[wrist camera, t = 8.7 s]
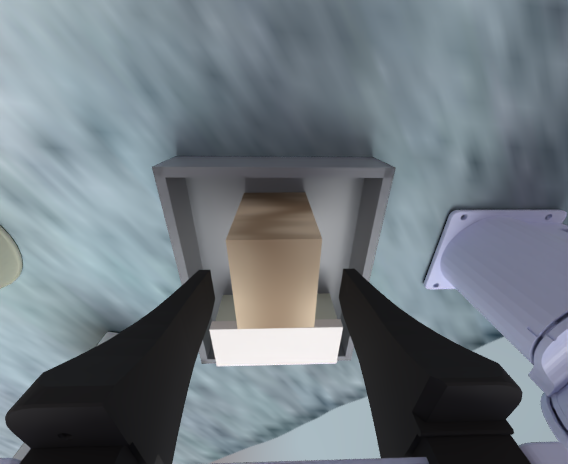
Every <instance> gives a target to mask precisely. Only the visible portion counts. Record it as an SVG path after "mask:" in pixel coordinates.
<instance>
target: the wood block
mask: <svg viewBox="0 0 568 464" xmlns="http://www.w3.org/2000/svg"><path fill="white" fill-rule="evenodd" d="M321 246H322V237H321V234H320V231H319V229H318V226H317V223H316V220H315V218H314V215H313V212H312V209H311V207H310V204H309V201H308V198H307V195H306V193H305V192H282V193H244V195H243V197H242V200H241V202H240V205H239V207H238V210H237V212H236V215H235V218H234V220H233V223H232V225H231V228H230V230H229V233H228V235H227V238H226V247H227V254H228V262H229V269H230V276H231V284H232V291H233V299H234V306H235V314H236V321H237V328H238V329H266V328H308V327H314V324H315V312H316V301H317V290H318V279H319V268H320V257H321Z"/></svg>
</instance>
